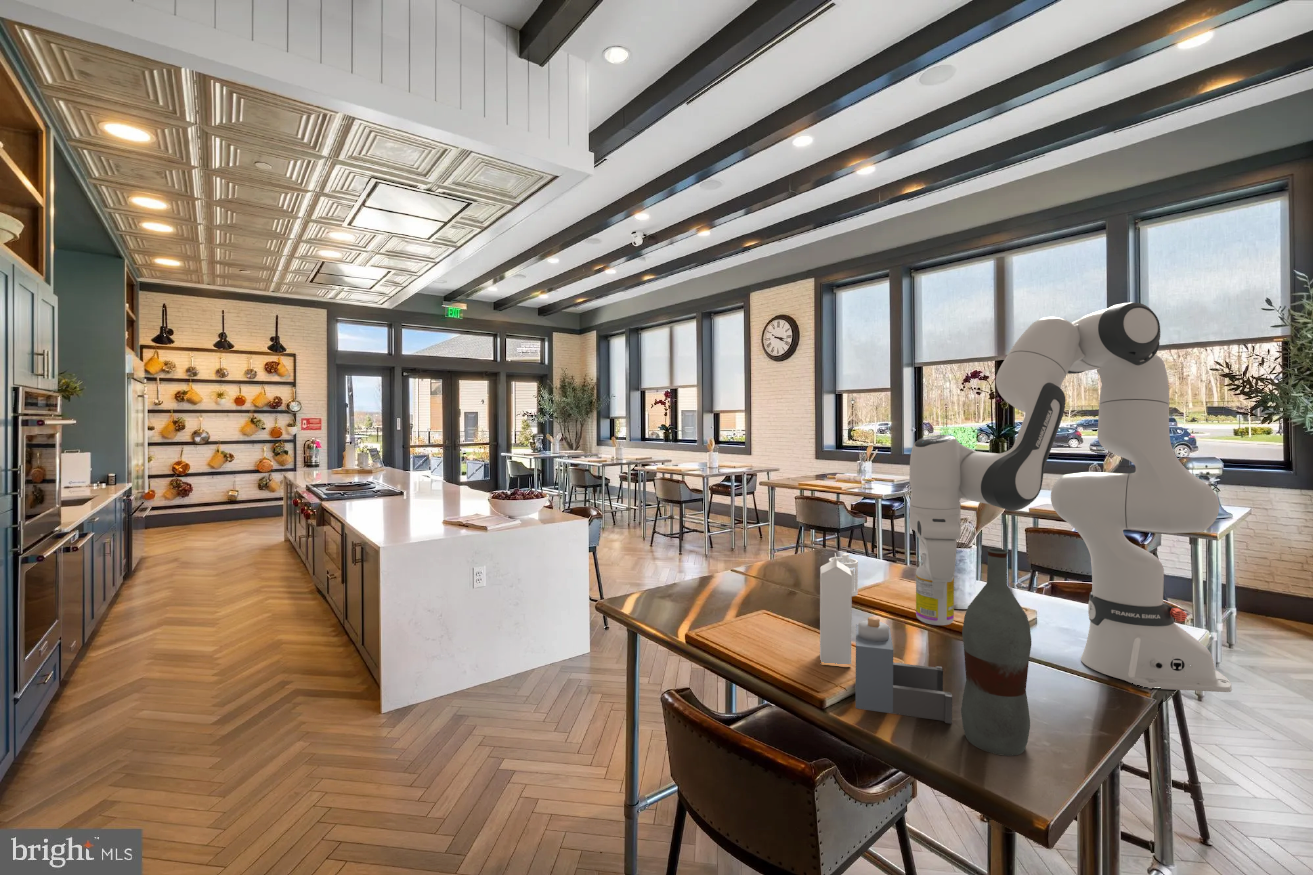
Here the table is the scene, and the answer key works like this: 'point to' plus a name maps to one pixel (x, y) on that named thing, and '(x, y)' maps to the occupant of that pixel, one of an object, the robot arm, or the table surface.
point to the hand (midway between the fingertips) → (934, 591)
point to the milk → (835, 613)
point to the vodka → (996, 665)
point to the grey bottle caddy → (896, 678)
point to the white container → (852, 564)
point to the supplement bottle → (933, 599)
